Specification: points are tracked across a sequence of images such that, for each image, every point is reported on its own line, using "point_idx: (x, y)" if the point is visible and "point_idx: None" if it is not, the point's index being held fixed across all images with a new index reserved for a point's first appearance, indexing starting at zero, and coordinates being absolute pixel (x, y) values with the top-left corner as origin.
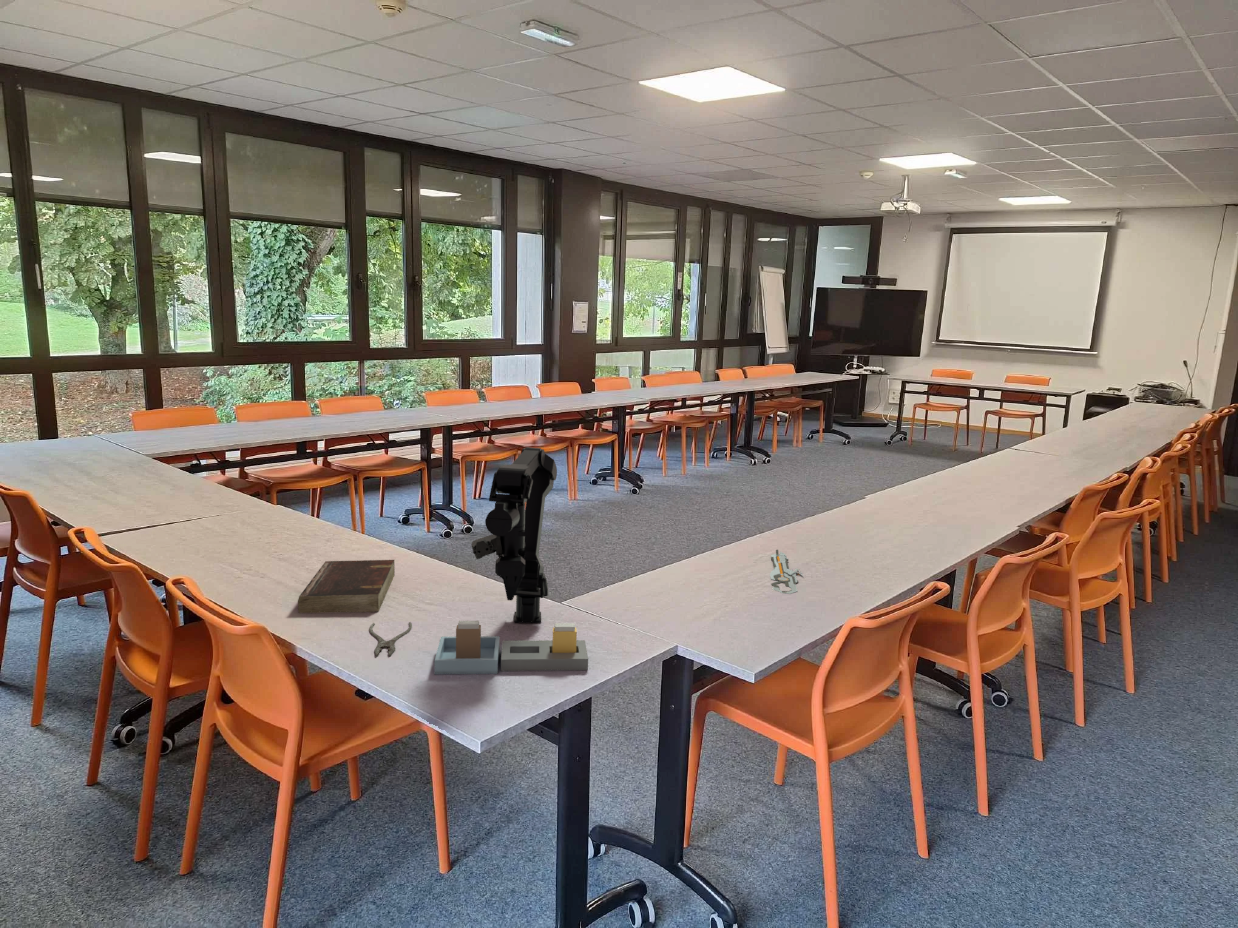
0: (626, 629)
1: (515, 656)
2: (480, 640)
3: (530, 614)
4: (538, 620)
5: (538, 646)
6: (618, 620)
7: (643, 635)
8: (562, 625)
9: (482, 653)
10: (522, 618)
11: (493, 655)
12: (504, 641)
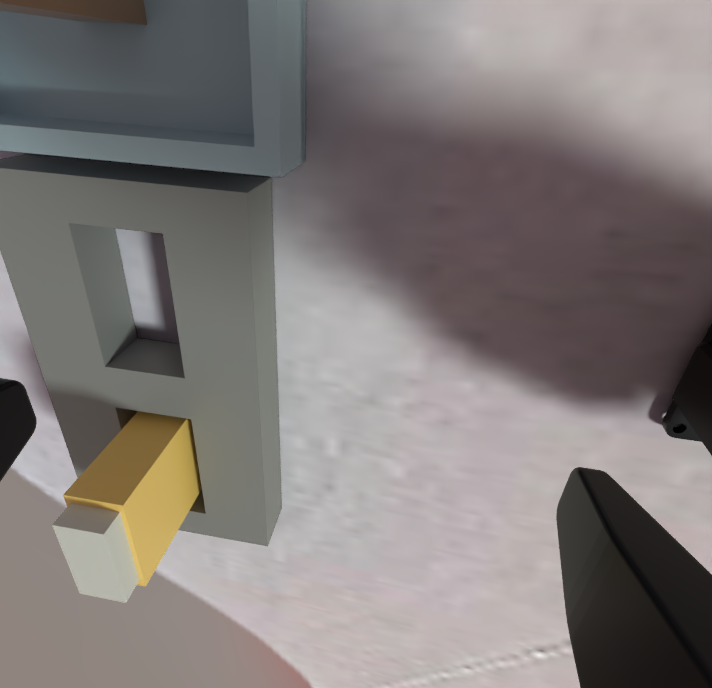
0: (471, 652)
1: (34, 250)
2: (4, 8)
3: (697, 410)
4: (675, 423)
5: (185, 374)
6: (570, 660)
7: (407, 668)
8: (84, 556)
9: (189, 39)
10: (708, 351)
11: (167, 118)
12: (234, 204)
